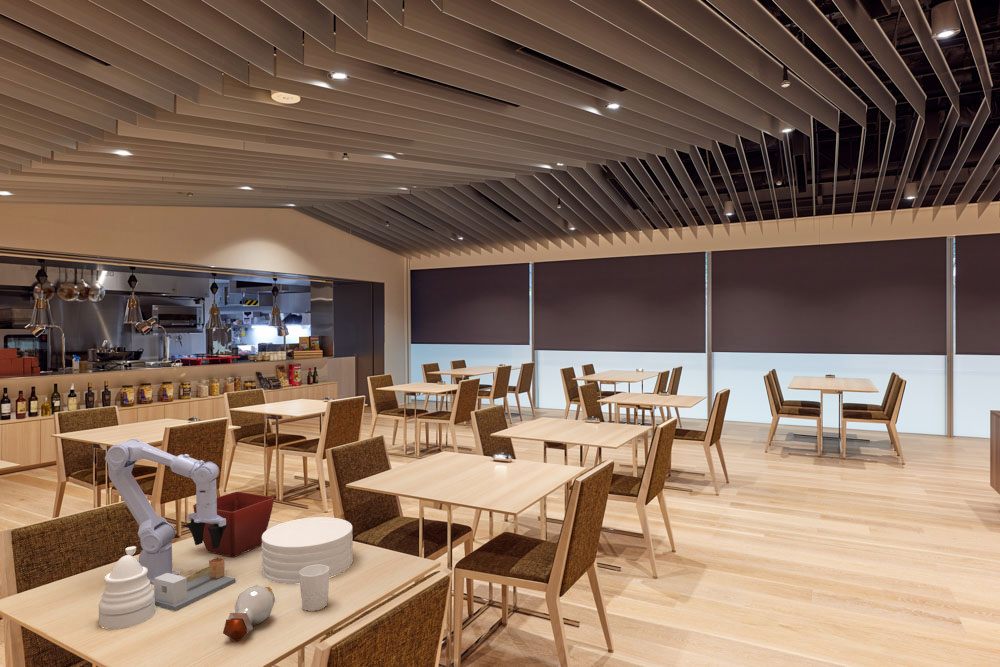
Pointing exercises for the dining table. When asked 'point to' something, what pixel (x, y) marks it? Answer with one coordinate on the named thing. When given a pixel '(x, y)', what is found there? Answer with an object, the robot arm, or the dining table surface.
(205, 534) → the plant pot
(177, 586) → the block
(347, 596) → the dining table surface
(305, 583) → the white cup
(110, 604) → the honey pot
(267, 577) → the plate stack
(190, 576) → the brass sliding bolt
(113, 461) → the robot arm
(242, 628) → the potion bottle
